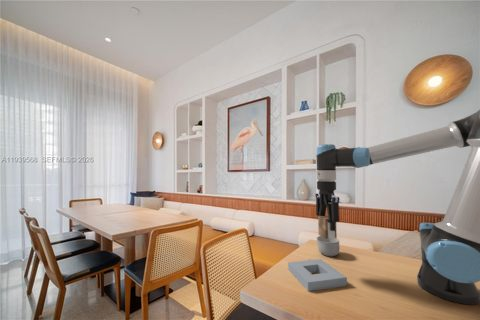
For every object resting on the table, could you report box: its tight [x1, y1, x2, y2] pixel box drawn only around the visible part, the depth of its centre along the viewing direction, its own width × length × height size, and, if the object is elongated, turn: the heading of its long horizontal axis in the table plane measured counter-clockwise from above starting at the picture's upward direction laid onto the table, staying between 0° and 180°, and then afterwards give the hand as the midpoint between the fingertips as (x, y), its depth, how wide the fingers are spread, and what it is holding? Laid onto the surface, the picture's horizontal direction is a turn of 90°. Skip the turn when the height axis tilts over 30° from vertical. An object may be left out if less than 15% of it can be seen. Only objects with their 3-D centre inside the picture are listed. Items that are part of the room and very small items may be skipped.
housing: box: [287, 258, 348, 292], centre depth 78 cm, size 16×16×3 cm
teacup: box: [316, 235, 341, 257], centre depth 101 cm, size 14×11×8 cm
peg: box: [317, 215, 338, 239], centre depth 81 cm, size 5×5×8 cm
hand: (327, 235), depth 81 cm, fingers closed on peg, 5 cm apart
